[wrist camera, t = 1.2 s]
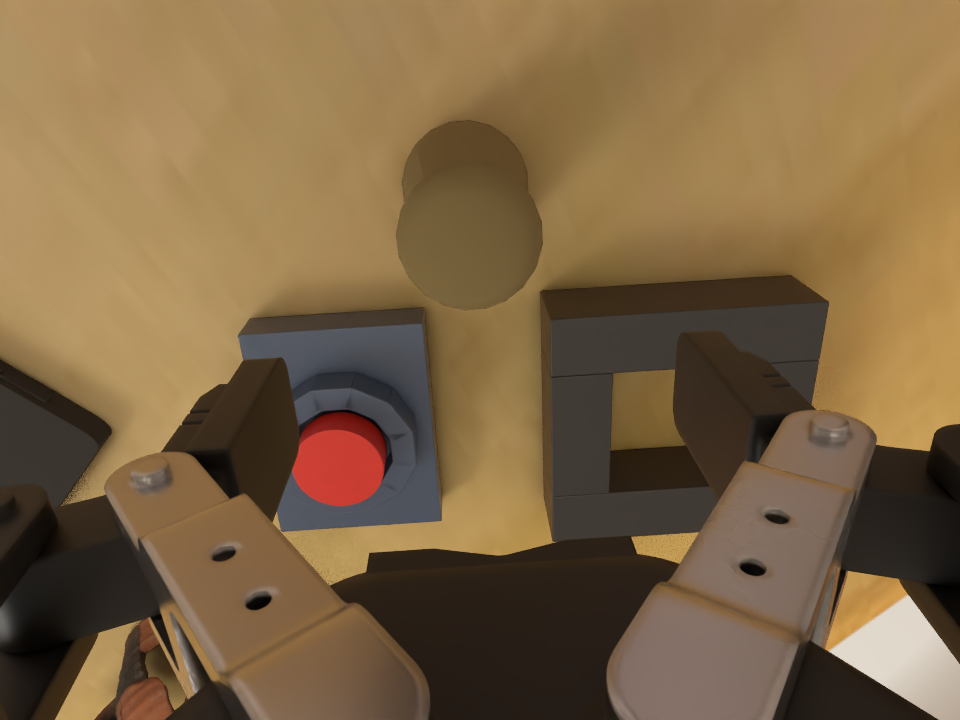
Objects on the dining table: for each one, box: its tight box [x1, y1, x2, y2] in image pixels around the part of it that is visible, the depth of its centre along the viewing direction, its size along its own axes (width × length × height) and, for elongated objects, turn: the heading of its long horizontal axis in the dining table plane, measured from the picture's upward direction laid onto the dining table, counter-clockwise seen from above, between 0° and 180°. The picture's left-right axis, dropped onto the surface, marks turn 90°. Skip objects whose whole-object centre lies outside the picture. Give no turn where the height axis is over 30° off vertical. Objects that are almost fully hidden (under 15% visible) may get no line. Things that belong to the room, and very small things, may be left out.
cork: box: [396, 121, 543, 310], centre depth 28 cm, size 6×6×11 cm
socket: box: [540, 275, 829, 542], centre depth 36 cm, size 13×13×4 cm
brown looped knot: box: [95, 618, 188, 720], centre depth 43 cm, size 12×10×8 cm
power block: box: [238, 308, 442, 532], centre depth 36 cm, size 12×9×4 cm
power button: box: [292, 412, 387, 506], centre depth 34 cm, size 4×4×2 cm
